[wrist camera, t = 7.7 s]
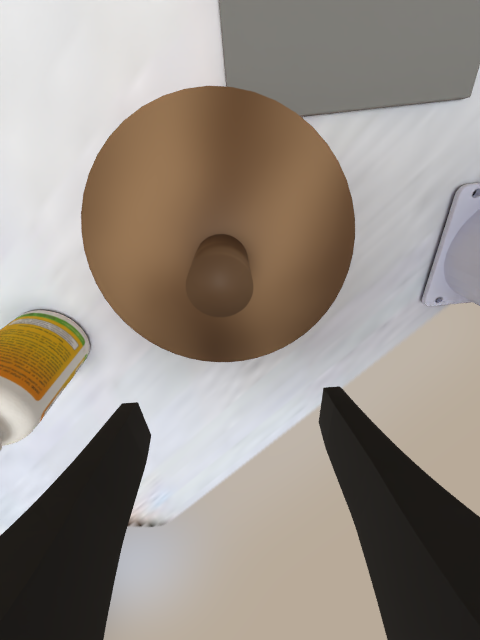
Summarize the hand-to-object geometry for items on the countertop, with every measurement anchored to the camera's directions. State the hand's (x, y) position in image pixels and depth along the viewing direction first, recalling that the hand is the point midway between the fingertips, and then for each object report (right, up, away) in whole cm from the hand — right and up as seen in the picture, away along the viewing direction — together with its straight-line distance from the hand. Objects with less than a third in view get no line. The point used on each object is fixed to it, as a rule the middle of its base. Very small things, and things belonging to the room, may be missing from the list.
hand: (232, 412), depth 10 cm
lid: (-1, +7, +2) cm, 7 cm away
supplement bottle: (-14, +2, +10) cm, 17 cm away
